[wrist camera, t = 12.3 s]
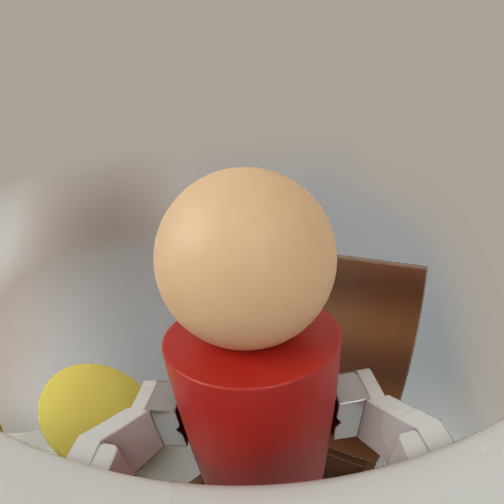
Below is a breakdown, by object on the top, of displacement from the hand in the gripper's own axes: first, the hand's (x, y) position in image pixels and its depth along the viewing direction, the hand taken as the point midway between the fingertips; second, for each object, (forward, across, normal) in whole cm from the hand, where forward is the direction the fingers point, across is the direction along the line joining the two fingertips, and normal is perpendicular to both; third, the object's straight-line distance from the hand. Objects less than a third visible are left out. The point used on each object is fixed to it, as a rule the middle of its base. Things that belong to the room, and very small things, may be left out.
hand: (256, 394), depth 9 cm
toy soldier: (-1, 0, +9) cm, 9 cm away
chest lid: (+9, -5, +6) cm, 12 cm away
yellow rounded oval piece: (+13, +19, +15) cm, 27 cm away
